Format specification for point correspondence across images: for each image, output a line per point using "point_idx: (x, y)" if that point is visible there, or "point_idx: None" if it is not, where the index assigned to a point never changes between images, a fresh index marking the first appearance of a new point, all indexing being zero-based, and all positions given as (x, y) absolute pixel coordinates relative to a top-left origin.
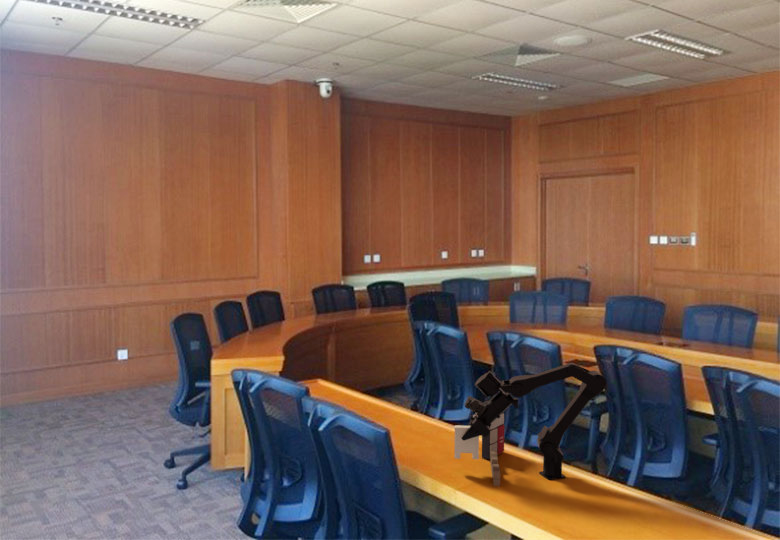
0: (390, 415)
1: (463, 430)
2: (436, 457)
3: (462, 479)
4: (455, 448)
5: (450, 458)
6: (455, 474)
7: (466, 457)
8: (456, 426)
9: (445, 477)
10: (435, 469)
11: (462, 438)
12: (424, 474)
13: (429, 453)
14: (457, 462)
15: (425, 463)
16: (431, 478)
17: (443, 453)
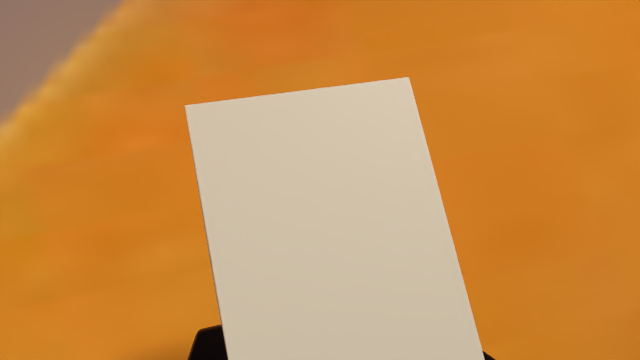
0: None
1: None
2: (492, 64)
3: (74, 357)
4: (205, 232)
5: (513, 163)
6: (183, 270)
7: (582, 276)
8: (305, 141)
9: (89, 202)
10: (250, 96)
11: (194, 349)
12: (116, 34)
13: (545, 8)
14: (454, 230)
15: (349, 9)
16: (37, 98)
17: (585, 97)
